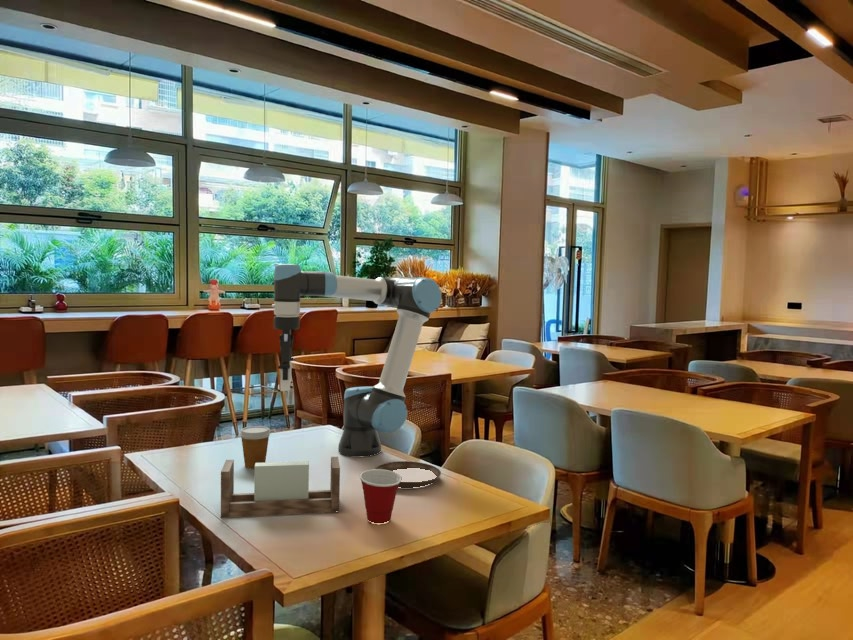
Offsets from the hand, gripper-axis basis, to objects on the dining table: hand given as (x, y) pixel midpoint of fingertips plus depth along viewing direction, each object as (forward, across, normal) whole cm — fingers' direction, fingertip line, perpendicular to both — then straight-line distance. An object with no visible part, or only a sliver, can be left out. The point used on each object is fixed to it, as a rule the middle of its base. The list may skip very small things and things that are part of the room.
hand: (285, 386), depth 183 cm
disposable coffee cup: (+29, -15, -10) cm, 34 cm away
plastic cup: (+29, +34, +25) cm, 51 cm away
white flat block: (+28, +22, 0) cm, 35 cm away
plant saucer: (+29, +4, +37) cm, 47 cm away
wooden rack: (+29, +22, 0) cm, 36 cm away
